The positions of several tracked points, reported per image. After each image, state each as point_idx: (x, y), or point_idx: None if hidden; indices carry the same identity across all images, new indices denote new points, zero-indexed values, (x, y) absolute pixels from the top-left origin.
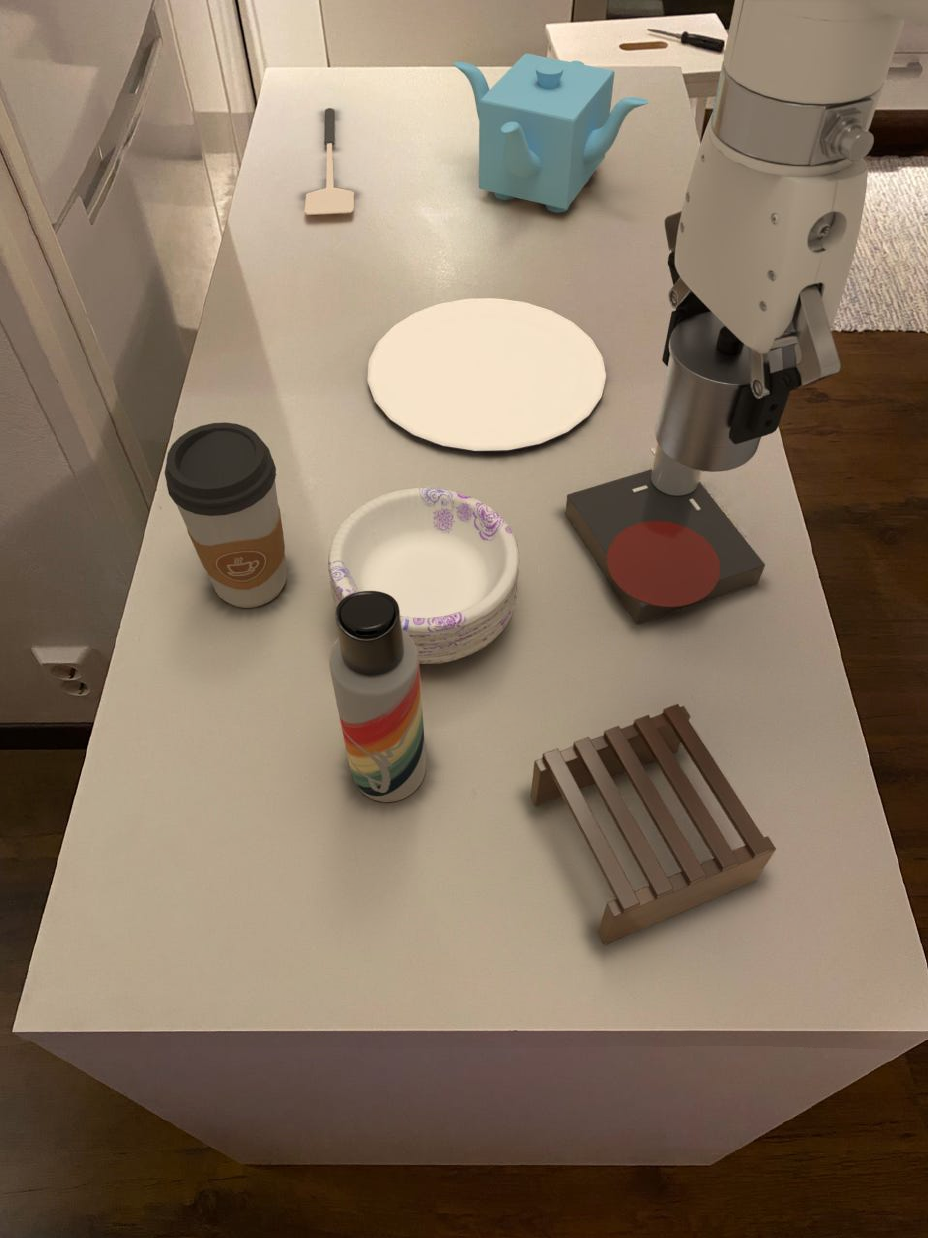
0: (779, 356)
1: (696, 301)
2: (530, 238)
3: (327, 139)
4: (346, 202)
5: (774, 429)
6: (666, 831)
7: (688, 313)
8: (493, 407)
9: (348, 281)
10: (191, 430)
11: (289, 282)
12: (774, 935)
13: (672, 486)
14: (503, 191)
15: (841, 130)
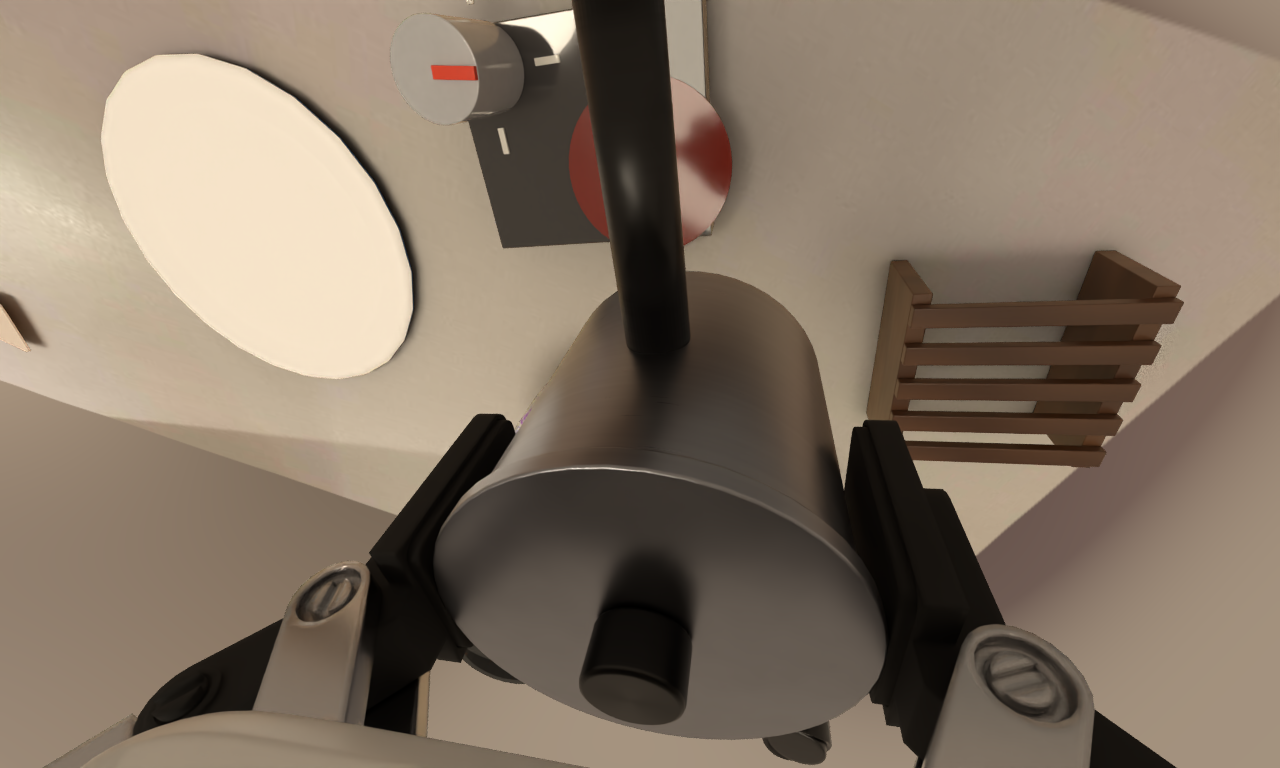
0: (774, 551)
1: (413, 655)
2: None
3: None
4: None
5: (941, 490)
6: (1058, 397)
7: (447, 632)
8: (332, 256)
9: (135, 335)
10: (465, 661)
11: (158, 389)
12: (1185, 263)
13: (513, 95)
14: None
15: None
